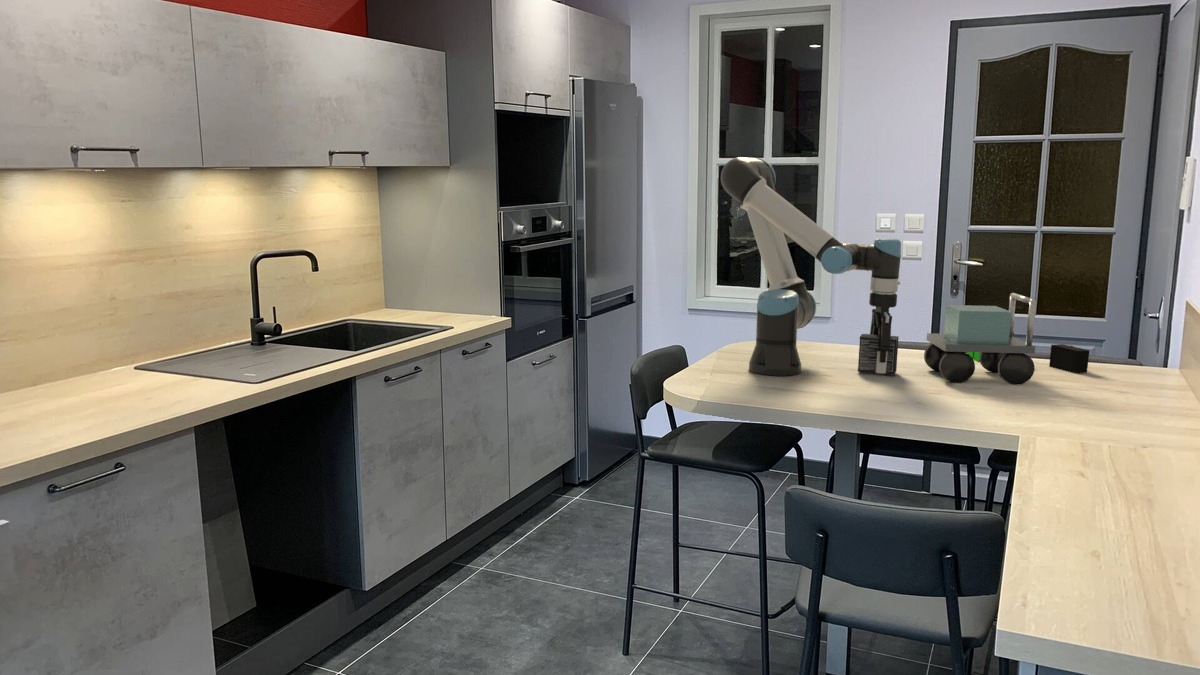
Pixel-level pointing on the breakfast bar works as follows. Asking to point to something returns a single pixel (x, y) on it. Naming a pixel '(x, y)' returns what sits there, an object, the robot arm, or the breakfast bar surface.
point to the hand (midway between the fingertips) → (877, 369)
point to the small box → (870, 354)
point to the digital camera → (1069, 358)
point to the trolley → (982, 343)
